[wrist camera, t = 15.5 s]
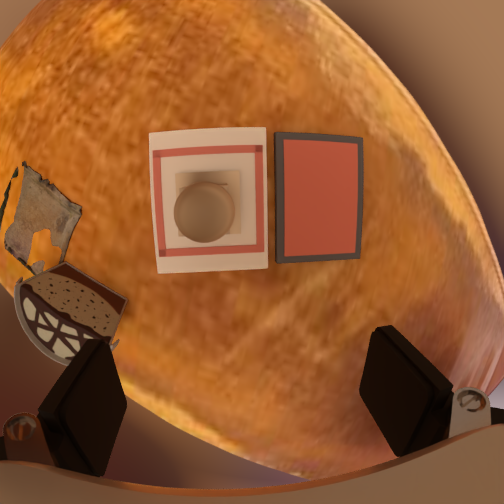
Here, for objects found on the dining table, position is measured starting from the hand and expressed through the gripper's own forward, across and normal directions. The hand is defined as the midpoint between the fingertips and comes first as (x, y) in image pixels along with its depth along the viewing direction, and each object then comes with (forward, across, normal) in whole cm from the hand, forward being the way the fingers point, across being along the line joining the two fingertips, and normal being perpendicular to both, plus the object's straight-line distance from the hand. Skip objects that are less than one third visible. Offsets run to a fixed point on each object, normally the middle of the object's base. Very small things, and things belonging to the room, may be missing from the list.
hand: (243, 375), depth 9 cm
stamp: (+22, +2, -4) cm, 22 cm away
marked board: (+23, +2, -4) cm, 23 cm away
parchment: (+23, +25, -3) cm, 34 cm away
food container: (+23, +18, +7) cm, 30 cm away
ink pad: (+23, -10, -4) cm, 25 cm away
